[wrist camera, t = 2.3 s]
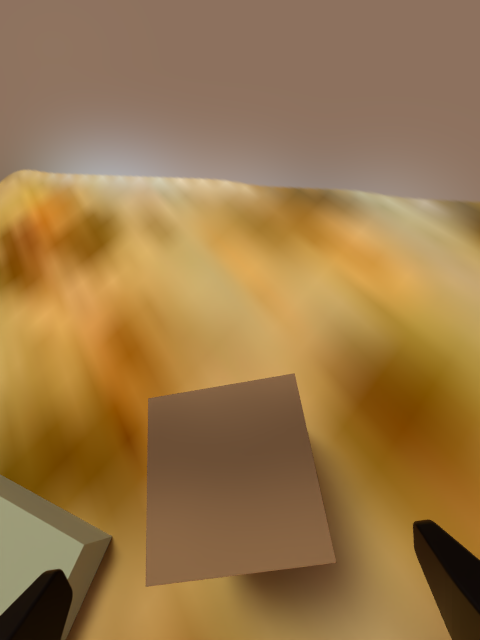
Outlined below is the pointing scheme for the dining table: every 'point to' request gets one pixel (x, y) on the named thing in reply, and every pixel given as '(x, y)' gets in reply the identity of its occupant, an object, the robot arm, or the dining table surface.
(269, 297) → the dining table surface
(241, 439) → the walnut block
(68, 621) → the sage slab
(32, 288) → the dining table surface
